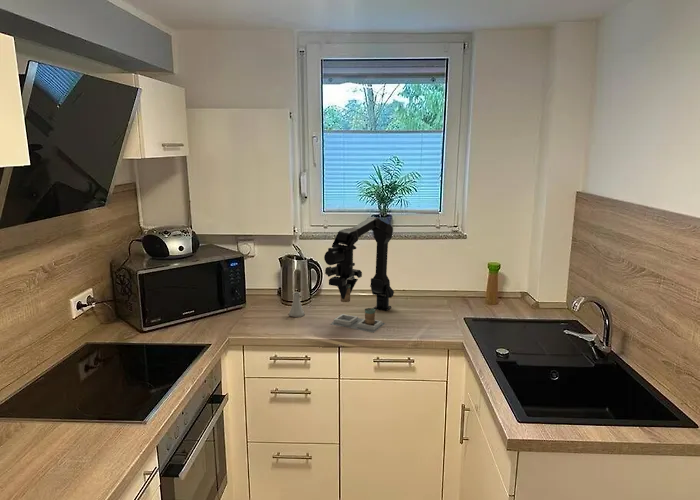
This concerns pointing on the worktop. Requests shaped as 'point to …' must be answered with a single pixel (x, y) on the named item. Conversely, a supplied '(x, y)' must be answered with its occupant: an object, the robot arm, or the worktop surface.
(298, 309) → the flask
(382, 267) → the robot arm
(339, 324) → the socket board
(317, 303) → the worktop surface
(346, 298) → the sleeve
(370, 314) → the seated sleeve
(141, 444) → the worktop surface
